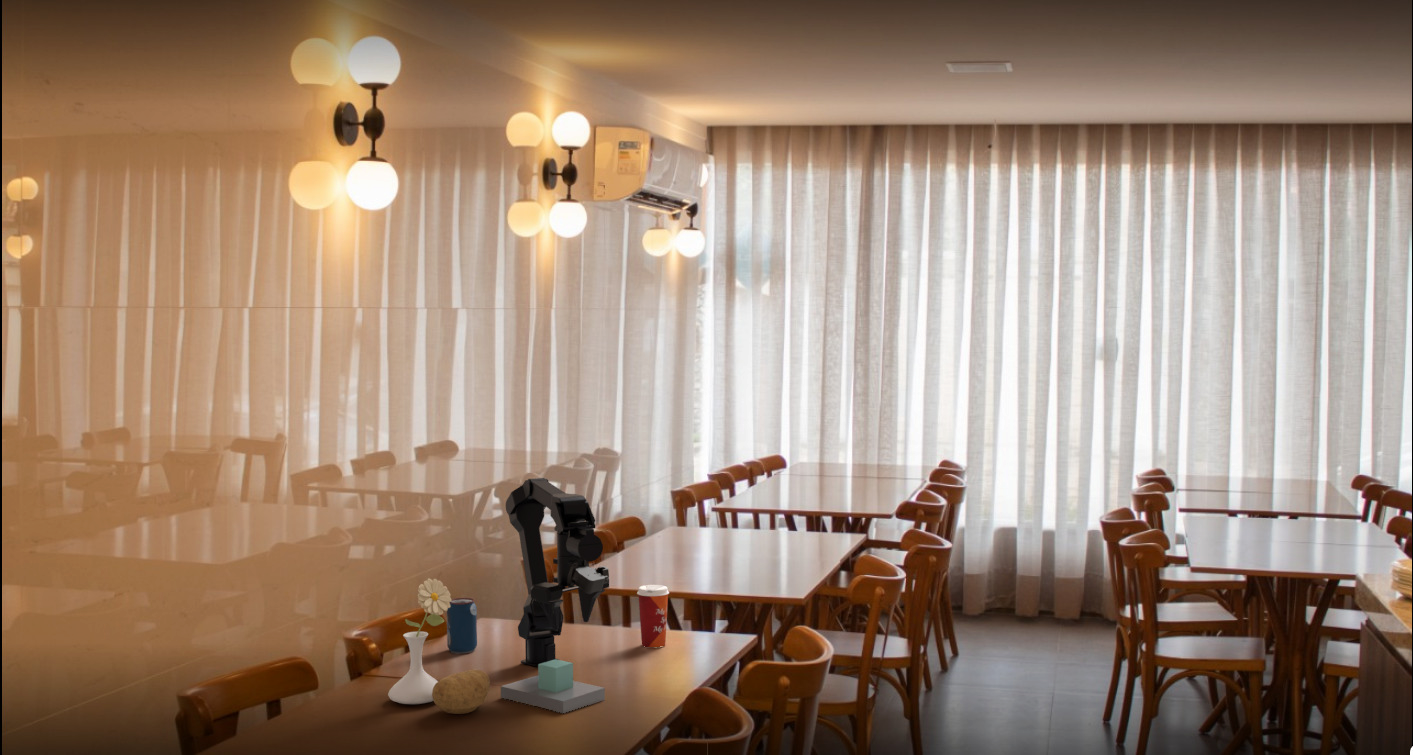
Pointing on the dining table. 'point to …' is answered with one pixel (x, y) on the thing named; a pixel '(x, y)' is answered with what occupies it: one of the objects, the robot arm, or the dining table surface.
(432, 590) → the flower in vase
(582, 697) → the slate board
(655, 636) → the paper cup
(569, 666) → the teal cube
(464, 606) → the soda can
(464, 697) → the potato
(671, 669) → the dining table surface
